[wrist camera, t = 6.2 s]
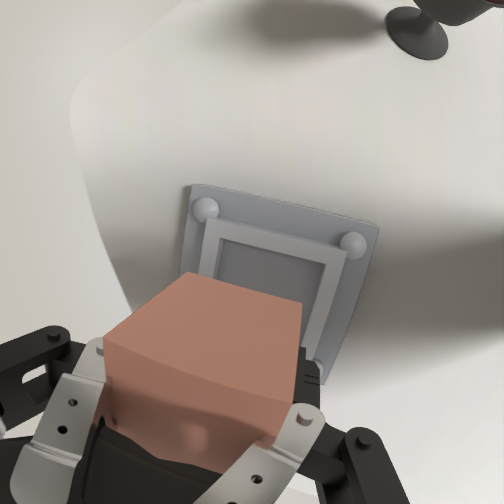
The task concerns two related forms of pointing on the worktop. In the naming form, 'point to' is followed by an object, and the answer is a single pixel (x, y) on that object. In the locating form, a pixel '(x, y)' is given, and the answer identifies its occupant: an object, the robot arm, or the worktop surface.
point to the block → (203, 370)
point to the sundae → (432, 24)
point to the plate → (282, 258)
